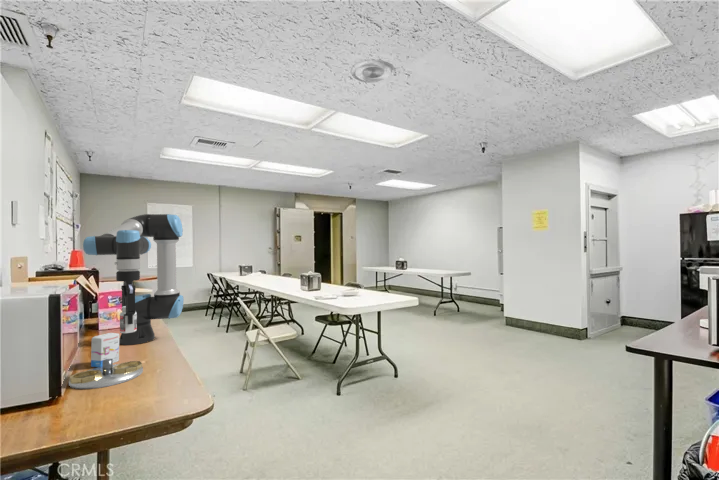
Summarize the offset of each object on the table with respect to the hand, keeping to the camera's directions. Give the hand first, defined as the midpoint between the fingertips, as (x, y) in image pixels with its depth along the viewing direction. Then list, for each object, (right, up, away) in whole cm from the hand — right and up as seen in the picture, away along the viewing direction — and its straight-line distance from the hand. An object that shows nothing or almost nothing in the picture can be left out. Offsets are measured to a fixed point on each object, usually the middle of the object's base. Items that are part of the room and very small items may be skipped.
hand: (128, 331), depth 132 cm
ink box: (-16, -16, +10) cm, 25 cm away
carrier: (-4, -16, -5) cm, 17 cm away
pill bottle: (0, -1, 0) cm, 0 cm away
